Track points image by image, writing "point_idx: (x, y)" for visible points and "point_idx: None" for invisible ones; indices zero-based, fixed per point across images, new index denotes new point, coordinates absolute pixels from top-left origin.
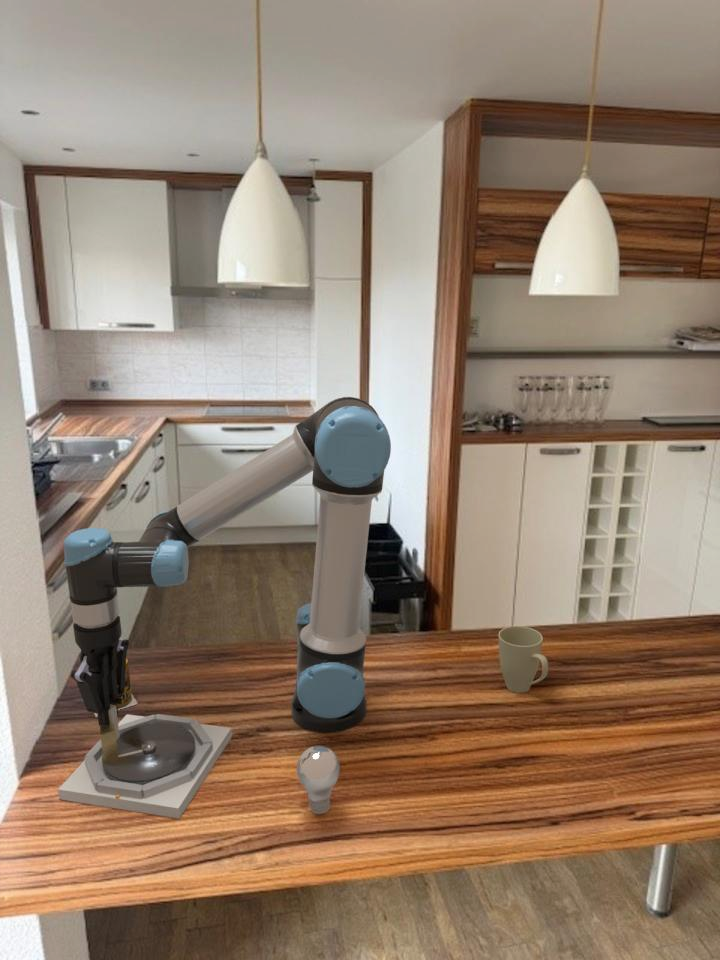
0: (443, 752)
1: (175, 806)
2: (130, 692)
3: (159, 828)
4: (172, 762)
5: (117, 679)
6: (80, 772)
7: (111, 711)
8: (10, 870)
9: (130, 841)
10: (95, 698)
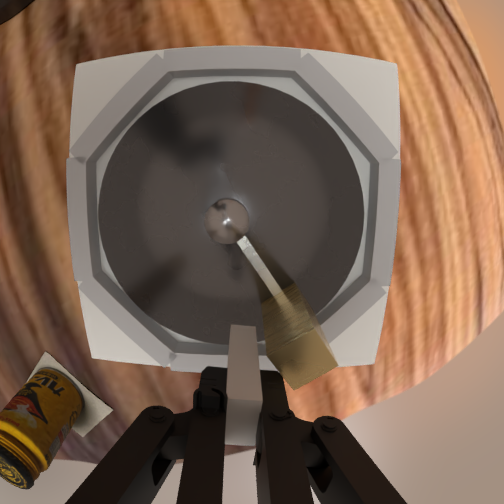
0: None
1: (393, 71)
2: (35, 377)
3: (416, 104)
4: (273, 118)
5: (147, 477)
6: None
7: (260, 394)
8: (497, 315)
9: (452, 150)
10: (378, 484)
